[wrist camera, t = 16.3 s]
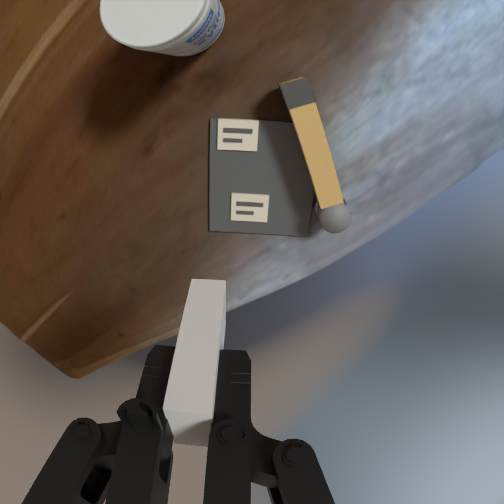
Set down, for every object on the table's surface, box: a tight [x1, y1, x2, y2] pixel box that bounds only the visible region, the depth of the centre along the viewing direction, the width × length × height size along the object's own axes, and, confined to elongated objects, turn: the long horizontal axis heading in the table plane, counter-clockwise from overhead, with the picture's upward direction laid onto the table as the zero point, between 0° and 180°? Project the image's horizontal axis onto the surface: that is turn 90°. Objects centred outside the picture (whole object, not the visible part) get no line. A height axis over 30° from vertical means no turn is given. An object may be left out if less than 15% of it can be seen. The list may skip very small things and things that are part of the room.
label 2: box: [231, 193, 269, 222], centre depth 44 cm, size 5×4×1 cm
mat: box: [209, 118, 314, 236], centre depth 42 cm, size 14×16×1 cm
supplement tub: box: [100, 0, 225, 56], centre depth 25 cm, size 10×10×15 cm
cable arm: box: [278, 76, 351, 233], centre depth 38 cm, size 20×4×3 cm, turn 20°
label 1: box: [217, 118, 259, 151], centre depth 39 cm, size 5×4×1 cm
